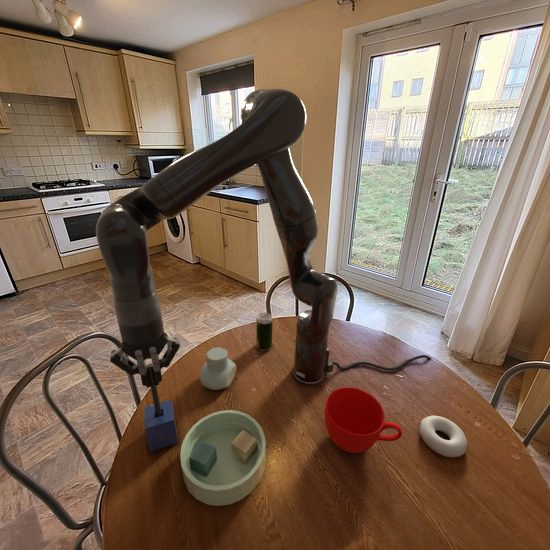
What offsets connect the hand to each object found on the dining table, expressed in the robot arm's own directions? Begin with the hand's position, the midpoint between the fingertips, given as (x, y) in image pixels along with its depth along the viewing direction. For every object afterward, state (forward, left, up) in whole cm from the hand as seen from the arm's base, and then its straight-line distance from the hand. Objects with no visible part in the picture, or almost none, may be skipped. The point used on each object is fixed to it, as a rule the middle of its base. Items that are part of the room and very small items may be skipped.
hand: (153, 383), depth 62 cm
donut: (-61, +25, -17) cm, 68 cm away
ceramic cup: (-42, +18, -17) cm, 49 cm away
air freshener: (-16, -13, -17) cm, 27 cm away
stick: (0, 0, -13) cm, 13 cm away
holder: (0, 0, -17) cm, 17 cm away
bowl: (-12, +11, -17) cm, 23 cm away
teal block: (-8, +10, -16) cm, 21 cm away
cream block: (-16, +11, -16) cm, 26 cm away
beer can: (-34, -23, -17) cm, 44 cm away
